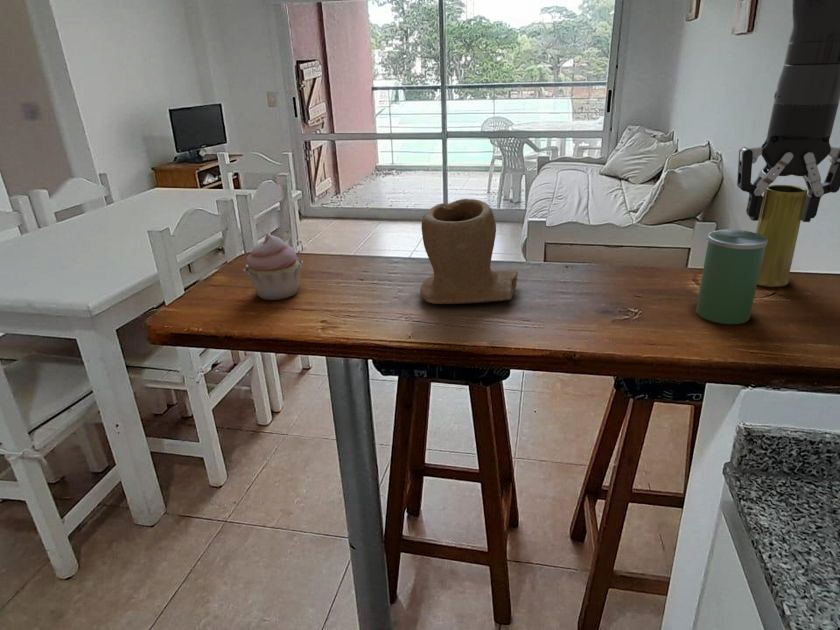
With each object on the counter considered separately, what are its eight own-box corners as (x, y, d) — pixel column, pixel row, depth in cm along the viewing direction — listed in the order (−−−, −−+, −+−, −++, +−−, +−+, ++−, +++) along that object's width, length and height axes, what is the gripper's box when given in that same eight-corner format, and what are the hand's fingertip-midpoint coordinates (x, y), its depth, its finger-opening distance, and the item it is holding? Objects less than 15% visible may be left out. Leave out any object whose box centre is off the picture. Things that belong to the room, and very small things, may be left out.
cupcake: (246, 288, 95) (235, 230, 91) (302, 279, 98) (294, 222, 93) (250, 309, 87) (239, 246, 83) (311, 298, 90) (303, 237, 85)
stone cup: (417, 317, 82) (413, 214, 76) (422, 285, 93) (418, 193, 86) (524, 315, 81) (528, 211, 75) (516, 284, 92) (519, 190, 85)
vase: (751, 270, 93) (770, 182, 87) (793, 279, 89) (816, 187, 83) (737, 281, 89) (756, 189, 83) (781, 291, 85) (804, 195, 79)
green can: (743, 305, 81) (759, 230, 76) (756, 326, 75) (774, 246, 70) (691, 302, 82) (703, 228, 78) (700, 323, 76) (714, 244, 72)
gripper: (755, 103, 76) (731, 225, 83) (880, 101, 73) (845, 228, 80) (740, 98, 83) (720, 212, 90) (855, 96, 79) (824, 214, 86)
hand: (779, 219), depth 85 cm, fingers open, 6 cm apart
